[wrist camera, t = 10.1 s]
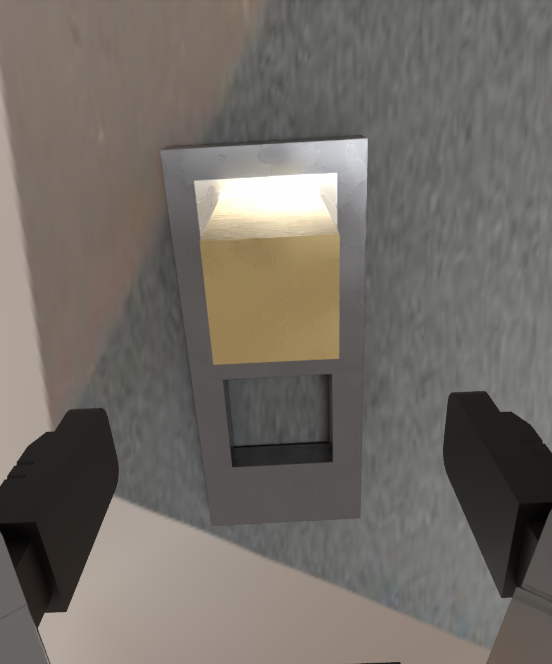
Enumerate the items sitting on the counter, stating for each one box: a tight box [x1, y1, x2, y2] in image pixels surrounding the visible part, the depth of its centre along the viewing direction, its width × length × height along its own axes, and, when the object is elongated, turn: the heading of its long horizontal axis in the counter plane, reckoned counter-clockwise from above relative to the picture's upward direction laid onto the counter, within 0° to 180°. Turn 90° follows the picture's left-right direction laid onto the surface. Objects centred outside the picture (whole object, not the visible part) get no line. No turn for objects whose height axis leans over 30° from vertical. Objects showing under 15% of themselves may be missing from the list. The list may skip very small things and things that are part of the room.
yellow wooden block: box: [200, 195, 340, 365], centre depth 23 cm, size 5×5×8 cm
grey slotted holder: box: [160, 135, 368, 526], centre depth 31 cm, size 24×10×2 cm, turn 3°
